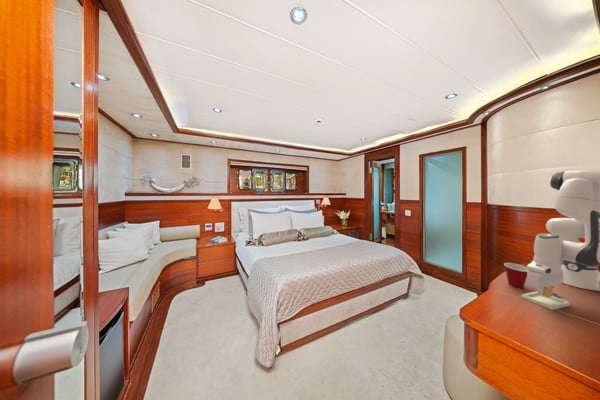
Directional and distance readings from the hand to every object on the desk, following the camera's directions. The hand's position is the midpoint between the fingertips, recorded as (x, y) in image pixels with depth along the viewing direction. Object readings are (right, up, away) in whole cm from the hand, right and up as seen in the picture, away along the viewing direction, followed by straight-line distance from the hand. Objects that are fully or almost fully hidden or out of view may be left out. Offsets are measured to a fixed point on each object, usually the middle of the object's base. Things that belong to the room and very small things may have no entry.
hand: (545, 293), depth 100 cm
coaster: (+10, -4, +6) cm, 13 cm away
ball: (0, -2, 0) cm, 2 cm away
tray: (0, -5, 0) cm, 5 cm away
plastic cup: (+4, -4, +17) cm, 17 cm away
